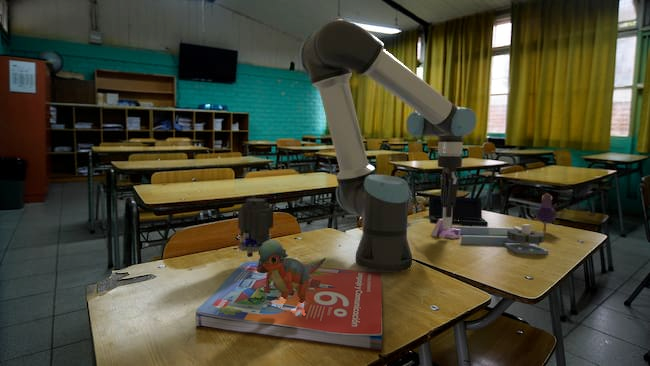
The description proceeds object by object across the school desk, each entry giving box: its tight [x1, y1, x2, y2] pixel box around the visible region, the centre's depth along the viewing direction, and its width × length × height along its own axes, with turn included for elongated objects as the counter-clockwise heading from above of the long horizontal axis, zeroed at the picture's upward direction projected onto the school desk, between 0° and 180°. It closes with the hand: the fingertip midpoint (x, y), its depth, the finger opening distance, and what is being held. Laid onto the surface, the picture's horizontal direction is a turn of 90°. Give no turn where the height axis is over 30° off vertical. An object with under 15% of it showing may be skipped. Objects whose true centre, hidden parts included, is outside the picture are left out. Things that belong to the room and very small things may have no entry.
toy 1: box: [237, 197, 274, 258], centre depth 100 cm, size 9×9×15 cm
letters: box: [430, 219, 461, 240], centre depth 129 cm, size 8×7×6 cm
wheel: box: [506, 228, 546, 244], centre depth 114 cm, size 10×10×2 cm
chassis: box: [452, 223, 549, 255], centre depth 122 cm, size 24×25×8 cm
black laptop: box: [428, 195, 489, 227], centre depth 154 cm, size 21×16×10 cm
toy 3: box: [534, 192, 559, 233], centre depth 137 cm, size 11×12×7 cm
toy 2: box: [256, 239, 326, 303], centre depth 75 cm, size 19×11×15 cm, turn 117°
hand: (447, 226), depth 127 cm, fingers closed
